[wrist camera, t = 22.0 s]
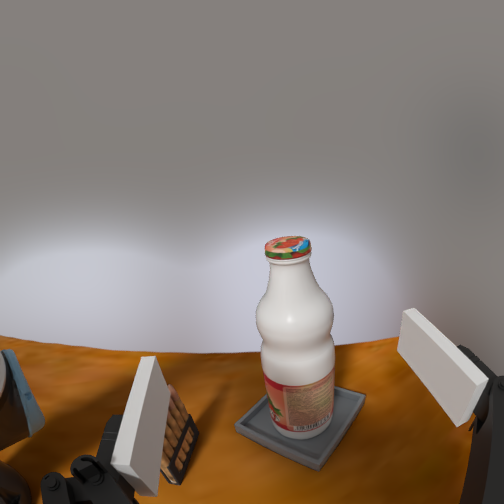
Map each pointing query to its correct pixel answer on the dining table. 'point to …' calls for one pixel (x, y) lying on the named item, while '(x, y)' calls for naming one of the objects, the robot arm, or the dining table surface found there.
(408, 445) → the dining table surface
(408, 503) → the dining table surface
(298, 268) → the white milk bottle
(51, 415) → the dining table surface
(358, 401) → the tray
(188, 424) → the ammunition clip
